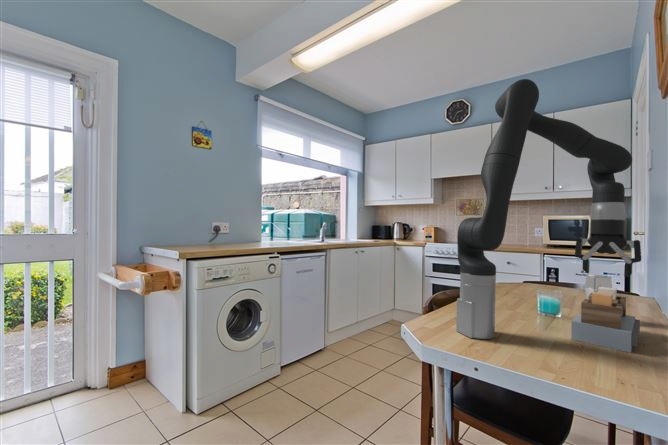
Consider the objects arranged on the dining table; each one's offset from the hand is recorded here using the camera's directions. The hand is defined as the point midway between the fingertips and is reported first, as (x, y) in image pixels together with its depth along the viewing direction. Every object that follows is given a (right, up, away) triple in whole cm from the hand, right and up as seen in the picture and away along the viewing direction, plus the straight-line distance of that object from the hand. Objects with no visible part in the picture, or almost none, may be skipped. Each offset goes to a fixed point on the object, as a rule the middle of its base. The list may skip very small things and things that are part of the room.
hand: (606, 274), depth 89 cm
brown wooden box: (0, -13, 0) cm, 13 cm away
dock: (0, -18, 0) cm, 18 cm away
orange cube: (-5, -9, -4) cm, 11 cm away
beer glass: (+11, -18, +16) cm, 27 cm away
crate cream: (+4, -9, +4) cm, 11 cm away
